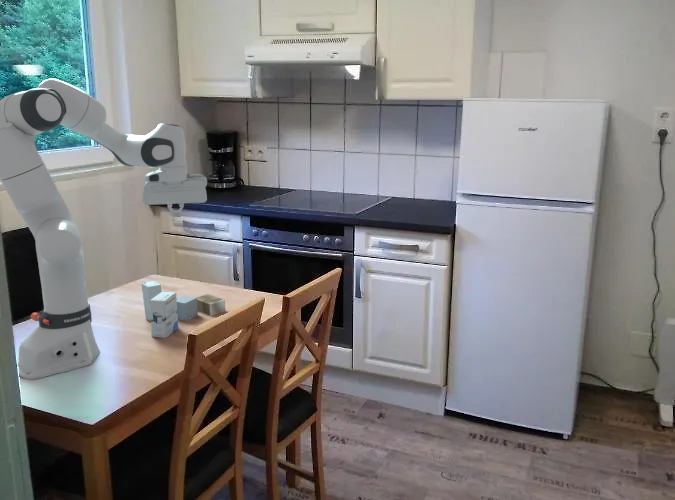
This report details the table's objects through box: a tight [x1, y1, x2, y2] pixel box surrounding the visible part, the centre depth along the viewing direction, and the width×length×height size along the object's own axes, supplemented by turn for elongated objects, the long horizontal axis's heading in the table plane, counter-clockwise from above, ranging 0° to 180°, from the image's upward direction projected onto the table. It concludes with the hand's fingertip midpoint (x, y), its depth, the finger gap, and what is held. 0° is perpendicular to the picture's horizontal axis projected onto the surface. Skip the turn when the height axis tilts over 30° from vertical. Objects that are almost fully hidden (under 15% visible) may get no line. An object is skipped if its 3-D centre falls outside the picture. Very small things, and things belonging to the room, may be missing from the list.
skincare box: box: [141, 280, 163, 322], centre depth 201 cm, size 6×4×12 cm
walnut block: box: [196, 293, 226, 316], centre depth 210 cm, size 6×4×9 cm
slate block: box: [176, 294, 199, 322], centre depth 204 cm, size 6×6×6 cm
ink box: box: [150, 291, 179, 339], centre depth 190 cm, size 9×5×12 cm, turn 168°
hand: (176, 216), depth 206 cm, fingers closed
